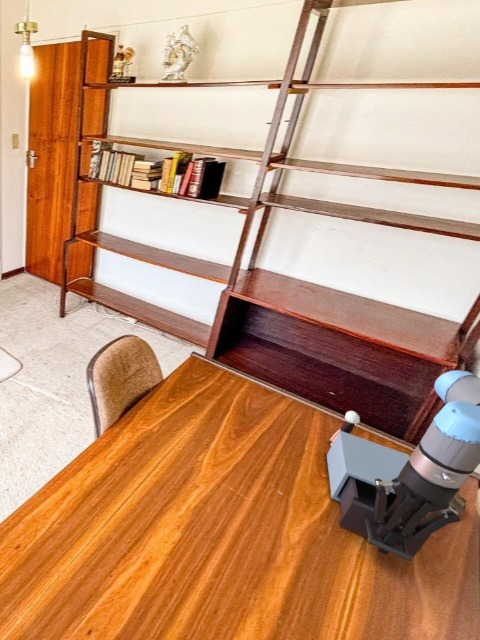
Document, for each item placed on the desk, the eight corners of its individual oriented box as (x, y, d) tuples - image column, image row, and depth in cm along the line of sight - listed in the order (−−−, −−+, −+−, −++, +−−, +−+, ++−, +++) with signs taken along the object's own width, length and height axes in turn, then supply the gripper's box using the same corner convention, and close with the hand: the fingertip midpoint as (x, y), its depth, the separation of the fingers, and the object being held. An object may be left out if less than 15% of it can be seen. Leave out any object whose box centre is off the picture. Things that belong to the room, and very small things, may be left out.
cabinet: (406, 529, 93) (425, 502, 89) (331, 498, 99) (346, 471, 95) (392, 480, 105) (408, 454, 101) (326, 455, 112) (339, 430, 107)
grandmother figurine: (333, 435, 118) (349, 403, 113) (348, 443, 116) (366, 410, 110) (324, 448, 114) (341, 415, 108) (340, 456, 111) (358, 423, 106)
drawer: (420, 584, 81) (439, 561, 78) (341, 547, 87) (355, 525, 84) (399, 505, 97) (413, 483, 94) (333, 478, 104) (344, 457, 100)
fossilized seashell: (476, 510, 95) (431, 479, 105) (471, 492, 93) (425, 462, 103) (448, 525, 96) (405, 492, 105) (443, 507, 94) (400, 476, 103)
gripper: (394, 470, 76) (346, 546, 86) (488, 506, 70) (425, 582, 80) (386, 444, 81) (342, 517, 92) (473, 475, 75) (415, 549, 86)
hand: (381, 547), depth 86 cm, fingers closed
